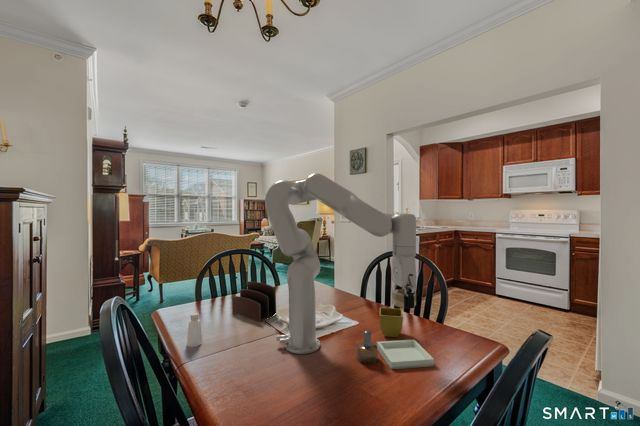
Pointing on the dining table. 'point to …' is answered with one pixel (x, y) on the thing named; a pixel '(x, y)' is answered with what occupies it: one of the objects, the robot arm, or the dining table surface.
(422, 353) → the tray
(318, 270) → the robot arm
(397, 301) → the birch ring
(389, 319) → the flower pot
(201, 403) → the dining table surface
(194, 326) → the salt shaker
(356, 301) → the dining table surface
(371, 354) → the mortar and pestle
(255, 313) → the letter holder
